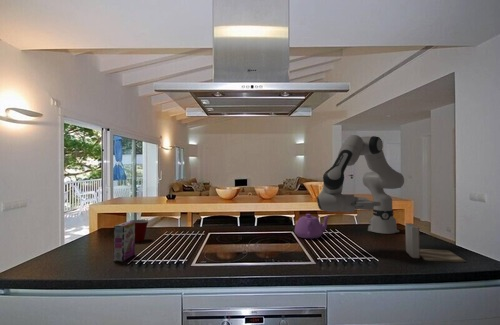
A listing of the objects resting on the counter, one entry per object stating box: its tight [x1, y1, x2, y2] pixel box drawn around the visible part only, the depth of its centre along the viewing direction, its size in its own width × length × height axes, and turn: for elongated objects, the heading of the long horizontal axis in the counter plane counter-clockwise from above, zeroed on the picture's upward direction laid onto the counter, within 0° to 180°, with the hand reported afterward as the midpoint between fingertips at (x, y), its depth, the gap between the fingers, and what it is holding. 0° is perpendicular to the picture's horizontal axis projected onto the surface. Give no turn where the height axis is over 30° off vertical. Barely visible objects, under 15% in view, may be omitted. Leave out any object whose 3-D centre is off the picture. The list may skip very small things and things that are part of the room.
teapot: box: [294, 213, 331, 239], centre depth 174 cm, size 22×22×14 cm
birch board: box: [420, 248, 466, 263], centre depth 134 cm, size 16×16×1 cm
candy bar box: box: [113, 221, 136, 263], centre depth 136 cm, size 11×5×16 cm, turn 175°
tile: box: [404, 222, 421, 259], centre depth 137 cm, size 10×3×14 cm, turn 167°
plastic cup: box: [129, 219, 150, 243], centre depth 169 cm, size 11×11×12 cm
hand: (380, 203), depth 140 cm, fingers closed
